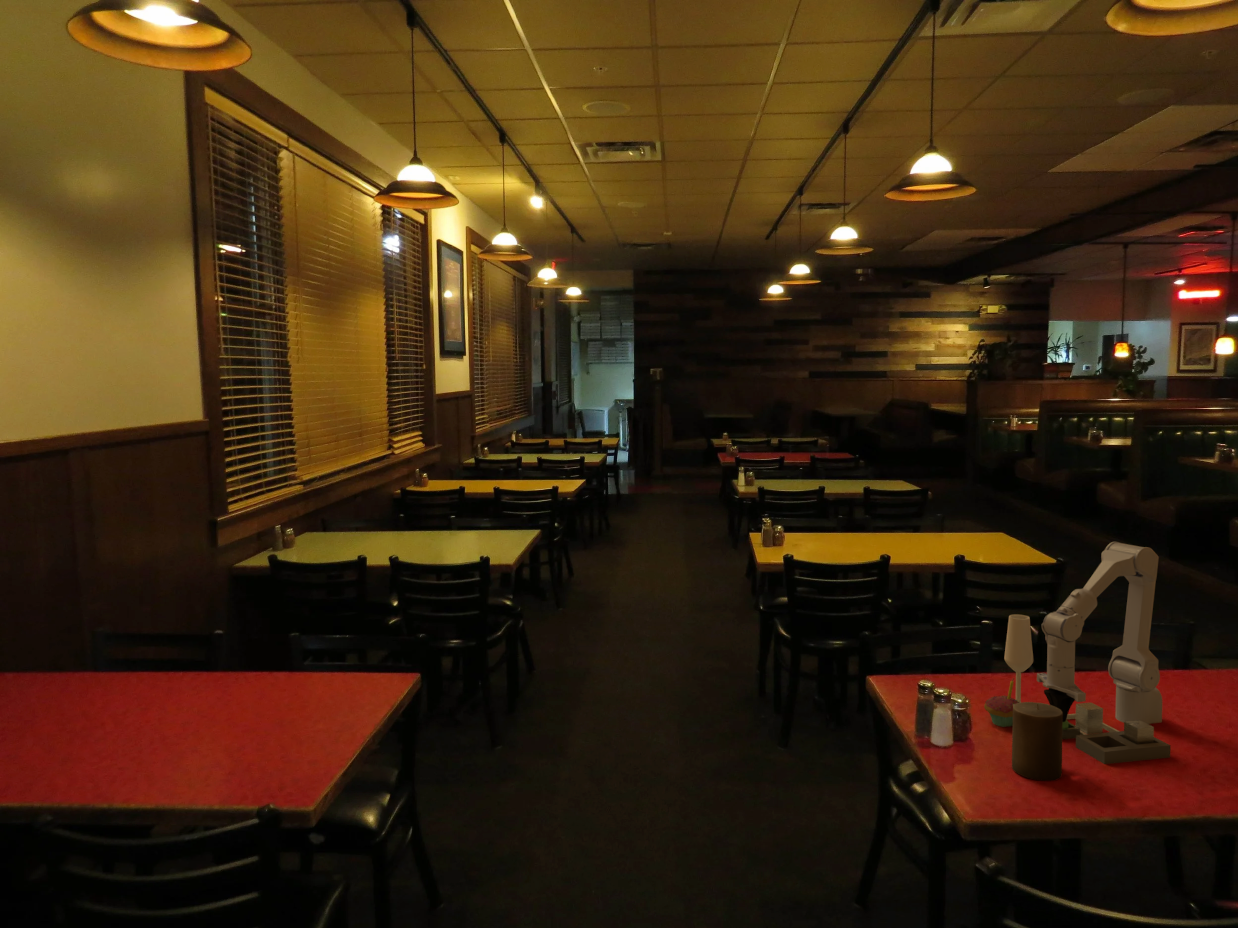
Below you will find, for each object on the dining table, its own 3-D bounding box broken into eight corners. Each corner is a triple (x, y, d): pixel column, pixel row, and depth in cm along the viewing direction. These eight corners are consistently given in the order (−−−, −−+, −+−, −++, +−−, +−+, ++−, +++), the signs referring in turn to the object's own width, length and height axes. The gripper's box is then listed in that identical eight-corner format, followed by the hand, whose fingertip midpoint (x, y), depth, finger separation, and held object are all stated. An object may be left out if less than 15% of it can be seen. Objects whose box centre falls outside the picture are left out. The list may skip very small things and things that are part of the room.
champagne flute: (1024, 703, 222) (1025, 613, 220) (1037, 713, 215) (1039, 619, 213) (998, 704, 221) (999, 613, 219) (1011, 714, 215) (1012, 620, 213)
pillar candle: (1059, 785, 176) (1061, 714, 175) (1008, 774, 181) (1009, 705, 180) (1063, 767, 184) (1065, 700, 183) (1014, 758, 190) (1015, 692, 188)
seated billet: (1139, 745, 192) (1140, 720, 192) (1153, 753, 188) (1153, 726, 188) (1123, 747, 192) (1124, 721, 191) (1136, 754, 188) (1137, 728, 187)
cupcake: (1020, 720, 210) (1021, 673, 209) (1024, 734, 202) (1025, 684, 201) (982, 717, 213) (983, 670, 212) (985, 730, 205) (986, 681, 204)
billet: (1090, 726, 204) (1091, 702, 204) (1102, 733, 200) (1103, 708, 200) (1075, 728, 204) (1075, 703, 203) (1087, 734, 200) (1087, 709, 199)
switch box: (1062, 730, 204) (1062, 718, 203) (1079, 740, 198) (1080, 728, 197) (1039, 732, 203) (1039, 720, 202) (1056, 742, 197) (1056, 730, 197)
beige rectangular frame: (1083, 719, 210) (1084, 712, 210) (1126, 742, 196) (1126, 734, 196) (1050, 722, 209) (1050, 715, 208) (1090, 745, 195) (1091, 738, 195)
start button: (1061, 731, 202) (1061, 717, 202) (1071, 737, 199) (1072, 723, 198) (1047, 732, 202) (1047, 718, 201) (1057, 738, 198) (1057, 724, 198)
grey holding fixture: (1138, 744, 195) (1139, 729, 195) (1170, 760, 186) (1170, 745, 186) (1075, 750, 193) (1075, 735, 192) (1104, 767, 184) (1104, 751, 183)
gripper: (1025, 656, 205) (1024, 711, 206) (1066, 675, 191) (1065, 734, 192) (1052, 654, 206) (1051, 708, 208) (1094, 673, 192) (1093, 731, 193)
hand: (1059, 721), depth 200 cm, fingers closed, pressing on start button
